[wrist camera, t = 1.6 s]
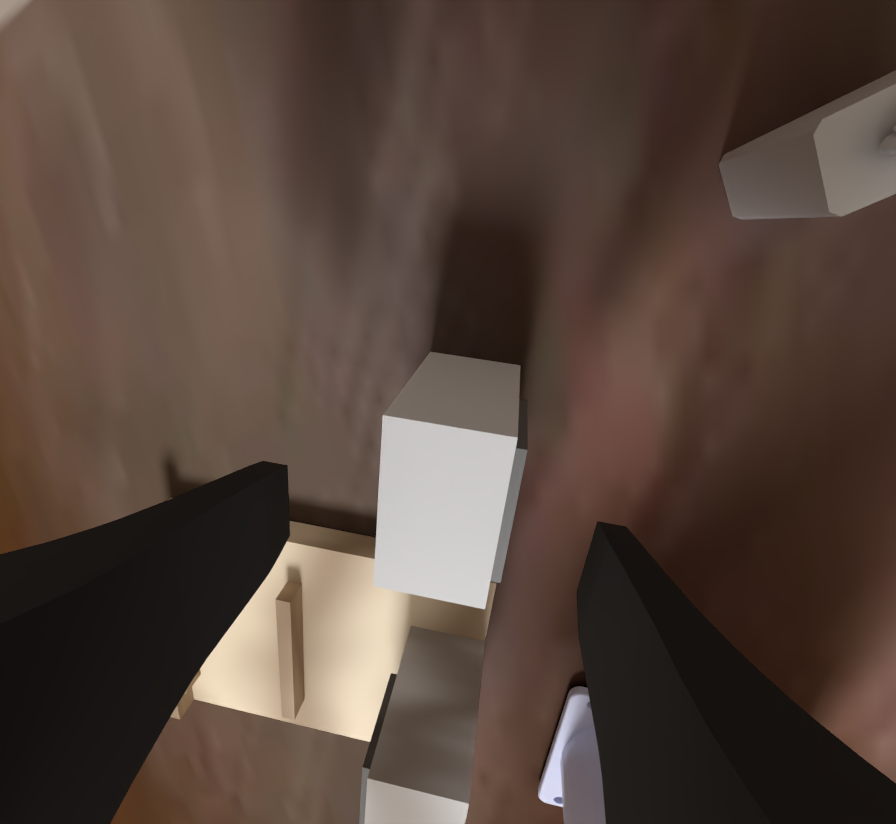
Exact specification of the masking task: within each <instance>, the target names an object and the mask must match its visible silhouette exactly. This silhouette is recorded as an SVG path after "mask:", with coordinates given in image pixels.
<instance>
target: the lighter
mask: <svg viewBox="0 0 896 824" xmlns="http://www.w3.org/2000/svg"><path fill="white" fill-rule="evenodd" d="M719 168H720V172H721V176H722V179H723V183H724V187H725V191H726V194H727V198H728V202H729V206H730V209H731V213H732V216H733V217H736V218H738V219H775V218H810V217H842V216H844V215H847V214H849V213H852V212H854V211H856V210H859V209H861V208H863V207H866V206H868V205H871V204H873V203H875V202H878V201H880V200H882V199H885V198H887V197H889V196H892V195H894V194H896V70H895V71H893V72H891V73H889V74H887V75H885V76H883V77H881V78H879V79H877V80H875V81H873V82H871V83H868V84H866V85H864V86H862V87H860V88H858V89H856V90H854V91H852V92H850V93H848V94H846V95H844V96H842V97H840V98H838V99H836V100H834V101H832V102H830V103H828V104H826V105H824V106H822V107H820V108H818V109H815V110H813V111H811V112H809V113H807V114H805V115H803V116H801V117H799V118H797V119H795V120H793V121H791V122H789V123H787V124H785V125H783V126H781V127H779V128H777V129H775V130H773V131H771V132H769V133H767V134H765V135H763V136H760V137H758V138H756V139H754V140H752V141H750V142H748V143H746V144H744V145H742V146H740V147H738V148H736V149H734V150H732V151H730V152H728V153H726V154H724V155H723V157H722V159H721V161H720V163H719Z"/></svg>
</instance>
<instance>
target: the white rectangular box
mask: <svg viewBox="0 0 896 824" xmlns="http://www.w3.org/2000/svg"><path fill="white" fill-rule="evenodd" d="M520 366H521V365H515V364H508V363H502V362H495V361H488V360H482V359H475V358H469V357H462V356H455V355H449V354H442V353H435V352H430V353H429V354H428V356H427V357H426V358H425V360H424V361H423V362H422V364H421V365H420V366H419V368H418V369H417V370H416V372H415V373H414V374H413V376H412V377H411V378H410V380H409V381H408V382H407V384H406V385H405V386H404V388H403V389H402V390H401V392H400V393H399V394H398V396H397V397H396V398H395V400H394V401H393V402H392V404H391V405H390V406H389V408H388V409H387V410H386V412H385V413H384V414H383V423H382V440H381V458H380V475H379V493H378V511H377V528H376V546H375V563H374V581H373V586H375V587H379V588H384V589H389V590H394V591H399V592H403V593H408V594H413V595H418V596H423V597H428V598H432V599H437V600H442V601H447V602H452V603H456V604H461V605H466V606H471V607H476V608H481V609H485V607H486V602H487V596H488V591H489V586H490V581H493V582H498V583H501V578H502V573H503V568H504V563H505V558H506V553H507V549H508V544H509V539H510V534H511V529H512V524H513V519H514V514H515V509H516V504H517V499H518V494H519V489H520V484H521V480H522V475H523V470H524V465H525V460H526V455H527V400H522V399H519V392H520Z"/></svg>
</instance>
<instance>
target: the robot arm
mask: <svg viewBox="0 0 896 824" xmlns="http://www.w3.org/2000/svg"><path fill="white" fill-rule="evenodd" d="M289 537H290V520H289V494H288V469H287V465H282V464H277V463H271V462H266V461H262V462H259V463H256V464H253V465H250V466H248V467H245V468H243V469H240V470H238V471H236V472H233V473H231V474H228V475H226V476H224V477H221V478H219V479H217V480H215V481H212V482H210V483H208V484H205V485H203V486H201V487H198V488H196V489H193V490H191V491H189V492H186V493H184V494H182V495H179V496H177V497H175V498H172V499H170V500H167V501H164V502H162V503H159V504H157V505H154V506H152V507H149V508H147V509H144V510H141V511H139V512H136V513H134V514H131V515H129V516H126V517H123V518H121V519H118V520H115V521H112V522H109V523H106V524H103V525H101V526H98V527H95V528H92V529H88V530H85V531H82V532H79V533H76V534H73V535H69V536H66V537H63V538H60V539H56V540H53V541H50V542H46V543H42V544H39V545H35V546H31V547H27V548H23V549H20V550H16V551H12V552H8V553H4V554H0V824H110V823H111V821H112V819H113V817H114V815H115V814H116V812H117V810H118V808H119V806H120V804H121V802H122V801H123V799H124V797H125V795H126V793H127V791H128V790H129V788H130V786H131V784H132V782H133V780H134V779H135V777H136V775H137V773H138V772H139V770H140V768H141V766H142V765H143V763H144V761H145V759H146V758H147V756H148V754H149V752H150V751H151V749H152V747H153V745H154V744H155V742H156V740H157V738H158V737H159V735H160V733H161V732H162V730H163V728H164V726H165V725H166V723H167V721H168V720H169V718H170V716H171V715H172V713H173V711H174V710H175V708H176V706H177V705H178V703H179V701H180V700H181V698H182V697H183V695H184V693H185V692H186V690H187V688H188V687H189V685H190V683H191V682H192V680H193V678H194V677H195V675H196V674H197V673H198V671H199V670H200V668H201V667H202V665H203V664H204V662H205V661H206V659H207V658H208V656H209V655H210V654H211V652H212V651H213V650H214V648H215V647H216V646H217V644H218V643H219V642H220V640H221V639H222V637H223V636H224V635H225V633H226V632H227V631H228V629H229V628H230V627H231V625H232V624H233V623H234V621H235V620H236V618H237V617H238V616H239V614H240V613H241V612H242V610H243V609H244V608H245V606H246V605H247V604H248V602H249V601H250V599H251V598H252V597H253V595H254V594H255V593H256V591H257V590H258V588H259V587H260V586H261V584H262V583H263V581H264V580H265V579H266V577H267V576H268V574H269V573H270V571H271V570H272V568H273V566H274V564H275V563H276V561H277V559H278V557H279V556H280V554H281V552H282V550H283V548H284V546H285V544H286V542H287V540H288V538H289ZM577 612H578V630H579V640H580V647H581V653H582V658H583V664H584V670H585V676H586V682H587V688H586V687H581V686H577V687H574V688H572V689H570V691H569V693H568V696H567V699H566V702H565V705H564V708H563V712H562V715H561V718H560V721H559V724H558V727H557V730H556V733H555V736H554V740H553V743H552V746H551V749H550V752H549V755H548V758H547V761H546V765H545V768H544V771H543V774H542V777H541V780H540V783H539V786H538V797H539V798H540V799H541V800H542V801H543V802H545V803H549V804H553V805H557V806H561V807H563V815H564V824H896V783H894V782H893V781H892V780H890V779H889V778H888V777H886V776H885V775H884V774H883V773H881V772H880V771H879V770H877V769H876V768H875V767H873V766H872V765H871V764H869V763H868V762H867V761H866V760H864V759H863V758H862V757H860V756H859V755H858V754H857V753H855V752H854V751H853V750H852V749H850V748H849V747H848V746H847V745H846V744H844V743H843V742H842V741H841V740H839V739H838V738H837V737H836V736H834V735H833V734H832V733H831V732H830V731H828V730H827V729H826V728H825V727H823V726H822V725H821V724H820V723H818V722H817V721H816V720H815V719H813V718H812V717H811V716H810V715H809V714H808V713H806V712H805V711H804V710H803V709H802V708H800V707H799V706H798V705H797V704H796V703H795V702H793V701H792V700H791V699H790V698H789V697H788V696H787V695H785V694H784V693H783V692H782V691H781V690H780V689H779V688H778V687H777V686H776V685H774V684H773V683H772V682H771V681H770V680H769V679H768V678H767V677H766V676H764V675H763V674H762V673H761V672H760V671H759V670H758V669H757V668H756V667H755V666H753V665H752V664H751V663H750V662H749V661H748V660H747V659H746V658H745V657H744V656H743V655H742V654H741V653H740V652H739V651H738V650H737V649H736V648H735V647H734V646H733V645H732V644H731V643H730V642H729V641H728V640H727V639H726V638H725V637H724V636H723V635H722V634H721V633H720V632H719V631H718V630H717V629H716V628H715V627H714V626H713V625H712V624H711V623H710V622H709V621H708V620H707V619H706V618H705V617H704V616H703V615H702V613H701V612H700V611H699V610H698V609H697V608H696V607H695V606H694V605H693V604H692V603H691V602H690V600H689V599H688V598H687V597H686V596H685V595H684V594H683V593H682V592H681V590H680V589H679V588H678V587H677V586H676V585H675V584H674V582H673V581H672V580H671V579H670V578H669V577H668V575H667V574H666V573H665V572H664V571H663V570H662V568H661V567H660V566H659V565H658V564H657V563H656V561H655V560H654V559H653V558H652V557H651V555H650V554H649V553H648V552H647V551H646V549H645V548H644V547H643V546H642V545H641V543H640V542H639V541H638V540H637V539H636V538H635V536H634V535H633V534H632V533H631V532H630V531H629V530H628V528H627V527H625V526H619V525H614V524H608V523H603V522H597V525H596V528H595V531H594V535H593V538H592V542H591V545H590V548H589V552H588V555H587V559H586V562H585V565H584V569H583V572H582V576H581V579H580V582H579V586H578V589H577Z"/></svg>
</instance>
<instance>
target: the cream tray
mask: <svg viewBox="0 0 896 824" xmlns="http://www.w3.org/2000/svg"><path fill="white" fill-rule="evenodd" d="M170 499H172V498H171V497H170V498H169V499H168V500H170ZM375 546H376V538H375V537H370V536H365V535H360V534H355V533H350V532H345V531H340V530H335V529H329V528H324V527H319V526H314V525H309V524H304V523H299V522H294V521H290V537H289V538H288V540H287V542H286V544H285V546H284V548H283V550H282V552H281V554H280V556H279V557H278V559H277V561H276V563H275V564H274V566H273V568H272V570H271V571H270V573H269V574H268V576H267V577H266V579H265V580H264V581H263V583H262V584H261V586H260V587H259V588H258V590H257V591H256V593H255V594H254V595H253V597H252V598H251V599H250V601H249V602H248V604H247V605H246V606H245V608H244V609H243V610H242V612H241V613H240V614H239V616H238V617H237V618H236V620H235V621H234V623H233V624H232V625H231V627H230V628H229V629H228V631H227V632H226V633H225V635H224V636H223V637H222V639H221V640H220V642H219V643H218V644H217V646H216V647H215V648H214V650H213V651H212V652H211V654H210V655H209V656H208V658H207V659H206V661H205V662H204V664H203V665H202V667H201V668H200V670H199V671H198V673H197V674H196V675H195V677H194V678H193V680H192V682H191V683H190V685H189V687H188V688H187V690H186V692H185V693H184V695H183V697H182V698H181V700H180V701H179V703H178V705H177V706H176V708H175V710H174V711H173V713H172V715H171V716H170V717H173V718H177V719H180V718H181V717H182V716H183V714H184V713H185V711H186V710H187V708H188V707H189V706H190V704H191V703H192V701H193V700H194V699H196V700H200V701H204V702H208V703H212V704H216V705H220V706H224V707H228V708H233V709H237V710H241V711H245V712H249V713H253V714H257V715H261V716H265V717H270V718H274V719H278V720H282V721H286V722H290V723H294V724H298V725H302V726H307V727H311V728H315V729H319V730H323V731H327V732H331V733H335V734H339V735H344V736H348V737H352V738H356V739H360V740H364V741H368V742H370V744H369V748H368V751H367V754H366V758H365V761H364V764H363V768H362V786H361V803H360V821H359V824H465V820H466V816H467V811H468V807H469V800H470V790H471V780H472V769H473V759H474V749H475V738H476V728H477V718H478V708H479V697H480V687H481V677H482V666H483V656H484V646H485V639H486V634H487V628H488V623H489V618H490V613H491V608H492V603H493V598H494V593H495V588H496V582H493V581H490V586H489V591H488V596H487V602H486V607H485V609H481V608H476V607H471V606H466V605H461V604H456V603H452V602H447V601H442V600H437V599H432V598H428V597H423V596H418V595H413V594H408V593H403V592H399V591H394V590H389V589H384V588H379V587H375V586H373V581H374V563H375Z"/></svg>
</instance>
